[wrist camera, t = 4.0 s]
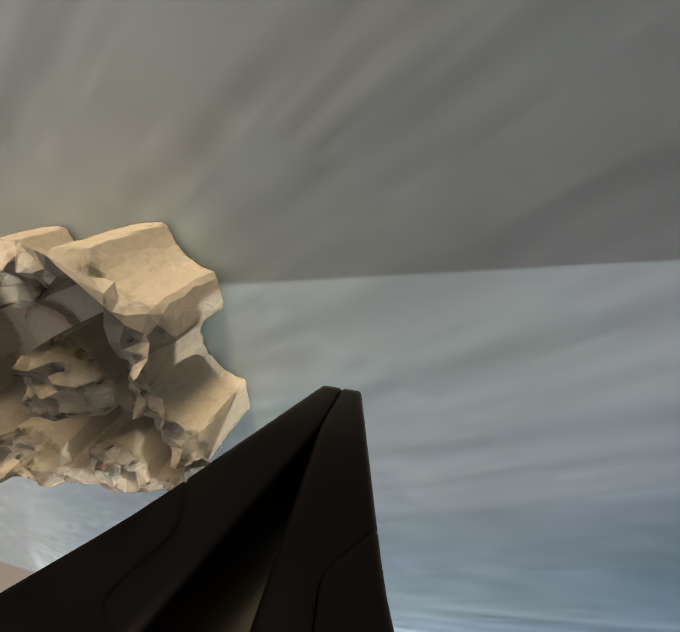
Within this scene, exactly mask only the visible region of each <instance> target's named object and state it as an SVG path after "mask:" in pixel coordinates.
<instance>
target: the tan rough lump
mask: <svg viewBox="0 0 680 632" xmlns="http://www.w3.org/2000/svg"><path fill="white" fill-rule="evenodd" d="M222 308H223V300H222V296H221V293H220V290H219V285H218V279H217V278H216V275H215V272H214V271H211V270H208V269H206V268H204V267H202V266H200V265H198V264H197V263H195V262H194V261H193V260H192V259H190V258H188V257H187V256H186V255H185V254H184V252H183V251H182V250H181V249H180V248H179V246H178V245H177V244H176V242H175V240H174V238H173V236H172V234H171V232H170V230H169V227H168V225H166V224H165V223H162V222H153V223H140V224H134V225H130V226H125V227H121V228H117V229H113V230H110V231H107V232H105V233H101V234H97V235H94V236H91V237H89V238H86V239H84V240H77V241H74V240H73V238H72V237H71V235H70V234H69V232H68V230H67V228H64V227H59V226H52V227H42V228H37V229H32V230H27V231H23V232H19V233H15V234H11V235H7V236H3V237H0V483H1V482H3V481H5V480H7V479H9V478H11V477H13V476H25V477H27V478H29V479H31V480H34V481H37V482H38V484H39V485H40V486H45V487H51V486H54V485H57V484H60V483H63V482H73V483H81V484H99V485H101V486H103V487H105V488H106V489H108V490H110V491H111V492H113V493H116V492H148V491H154V490H158V489H163V488H165V489H167V490H169V491H170V490H171V489H173V488H174V487H176V486H177V485H179V484H180V483H182V482H187V479H188V478H189V477H191V476H192V475H194V474H195V473H197V472H198V471H199V470H201V469H202V468H204V467H205V466H207V465H208V464H210V462H209V460H210V459H211V458H212V456H213V455H214V453H215V452H216V451H217V449H218V448H219V446H220V445H221V444H222V442H223V441H224V439H225V438H226V436H227V435H228V434H229V432H230V431H231V430H232V429H233V428H234V427H235V426H236V424H237V423H238V421H239V420H240V419H241V417H242V416H243V415H244V414H245V413H246V412H247V411H248V410H249V408H250V402H249V398H248V393H247V389H246V381H245V379H244V378H241V377H236V376H234V375H233V374H232V373H230V372H228V371H226V370H224V369H223V368H222V367H221V366H220V365H219V364H218V363H217V362H216V360H215V359H214V358H213V357H212V356H211V355H210V354H208V352H207V349H206V347H205V345H204V344H203V336H202V334H201V333H200V330H201V327H202V324H203V322H204V320H206V319H207V318H209V317H210V316H212V315H213V314H215V313H216V312H218V311H219V310H221V309H222Z"/></svg>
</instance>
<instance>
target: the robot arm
mask: <svg viewBox="0 0 680 632" xmlns="http://www.w3.org/2000/svg"><path fill="white" fill-rule="evenodd" d="M0 632H394V630H393V625H392V620H391V616H390V611H389V606H388V602H387V597H386V590H385V584H384V577H383V570H382V564H381V557H380V548H379V540H378V534H377V525H376V516H375V507H374V499H373V490H372V482H371V473H370V465H369V456H368V448H367V439H366V431H365V422H364V413H363V405H362V396H361V393H360V392H359V391H354V390H348V389H344V390H341V389H340V388H336V387H330V386H323V387H321V388H320V389H318V390H317V391H315V392H314V393H312V394H311V395H309V396H308V397H306V398H305V399H303V400H302V401H301V402H299V403H298V404H296V405H295V406H293V407H292V408H290V409H289V410H287V411H286V412H284V413H283V414H281V415H280V416H279V417H277V418H276V419H274V420H273V421H271V422H270V423H268V424H267V425H265V426H264V427H262V428H261V429H260V430H258V431H257V432H255V433H254V434H252V435H251V436H249V437H248V438H246V439H245V440H243V441H242V442H240V443H239V444H238V445H236V446H235V447H233V448H232V449H230V450H229V451H227V452H226V453H224V454H223V455H221V456H220V457H218V458H217V459H216V460H214V461H213V462H211V463H210V464H208V465H207V466H205V467H204V468H202V469H201V470H199V471H198V472H197V473H195V474H194V475H192V476H191V477H189V478H188V479H187V482H182V483H180V484H179V485H177V486H176V487H174V488H173V489H171V490H170V491H168V492H167V493H166V494H164V495H163V496H161V497H159V498H158V499H156V500H155V501H153V502H152V503H150V504H149V505H147V506H146V507H144V508H143V509H141V510H140V511H138V512H137V513H135V514H133V515H132V516H130V517H129V518H127V519H125V520H124V521H122V522H120V523H119V524H117V525H115V526H114V527H112V528H110V529H109V530H107V531H105V532H104V533H102V534H101V535H99V536H97V537H96V538H94V539H92V540H90V541H89V542H87V543H85V544H84V545H82V546H80V547H78V548H77V549H75V550H73V551H72V552H70V553H68V554H66V555H65V556H63V557H61V558H60V559H58V560H56V561H54V562H53V563H51V564H49V565H47V566H46V567H44V568H42V569H41V570H39V571H37V572H35V573H34V574H32V575H30V576H29V577H27V578H25V579H23V580H22V581H20V582H18V583H17V584H15V585H13V586H11V587H10V588H8V589H6V590H5V591H3V592H2V593H0Z"/></svg>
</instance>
